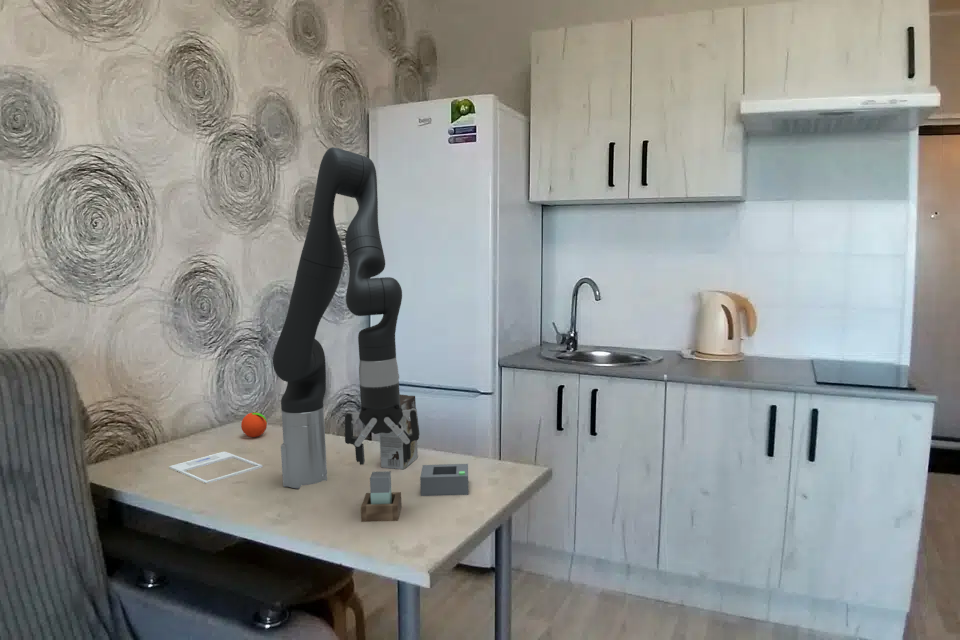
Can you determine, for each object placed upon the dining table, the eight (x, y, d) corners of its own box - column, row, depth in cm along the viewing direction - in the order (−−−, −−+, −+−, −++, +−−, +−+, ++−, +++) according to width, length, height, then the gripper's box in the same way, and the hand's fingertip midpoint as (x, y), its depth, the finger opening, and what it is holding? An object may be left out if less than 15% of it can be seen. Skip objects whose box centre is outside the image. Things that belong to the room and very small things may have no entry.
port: (420, 500, 146) (420, 475, 145) (423, 486, 154) (422, 463, 153) (468, 499, 146) (467, 474, 145) (468, 485, 154) (467, 461, 153)
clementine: (275, 434, 198) (274, 410, 197) (260, 441, 191) (258, 416, 190) (252, 432, 200) (251, 408, 200) (236, 439, 194) (234, 414, 193)
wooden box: (361, 526, 133) (360, 506, 133) (367, 512, 140) (366, 493, 140) (398, 525, 133) (397, 505, 133) (401, 511, 140) (400, 492, 140)
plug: (371, 517, 135) (369, 478, 134) (374, 510, 138) (372, 471, 137) (390, 517, 135) (388, 477, 134) (392, 509, 138) (390, 471, 138)
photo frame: (224, 450, 181) (262, 464, 170) (224, 454, 181) (262, 468, 170) (168, 465, 170) (205, 481, 159) (169, 469, 170) (206, 486, 159)
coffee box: (394, 456, 176) (392, 393, 174) (418, 457, 174) (416, 394, 172) (379, 467, 167) (377, 402, 165) (404, 469, 165) (401, 403, 163)
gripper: (339, 387, 130) (344, 470, 132) (415, 383, 130) (419, 466, 132) (345, 379, 137) (350, 458, 139) (417, 375, 138) (421, 454, 140)
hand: (384, 462), depth 136 cm, fingers open, 8 cm apart
